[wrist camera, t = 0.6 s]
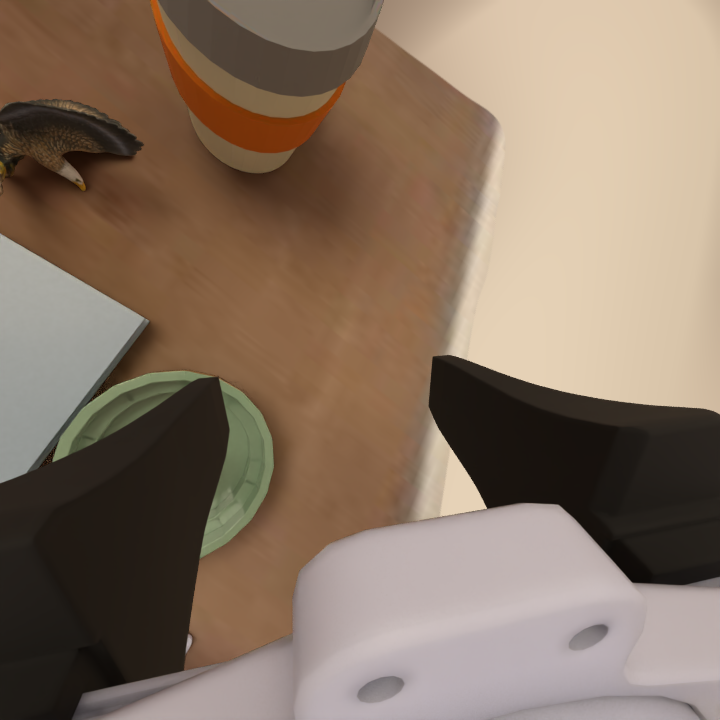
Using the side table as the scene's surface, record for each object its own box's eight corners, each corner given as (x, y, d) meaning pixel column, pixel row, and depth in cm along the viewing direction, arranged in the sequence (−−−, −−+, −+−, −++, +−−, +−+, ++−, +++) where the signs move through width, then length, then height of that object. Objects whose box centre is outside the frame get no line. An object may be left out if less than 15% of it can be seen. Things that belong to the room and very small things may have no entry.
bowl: (207, 565, 29) (207, 595, 25) (26, 500, 24) (-7, 525, 20) (294, 420, 32) (306, 427, 28) (148, 337, 27) (139, 333, 23)
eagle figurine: (54, 243, 24) (168, 178, 25) (-77, 148, 17) (87, 65, 18) (23, 182, 26) (128, 125, 27) (-102, 78, 19) (45, 9, 21)
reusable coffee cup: (337, 170, 33) (426, 36, 20) (216, 213, 29) (221, 80, 15) (273, 35, 31) (323, -227, 17) (130, 60, 26) (43, -265, 13)
